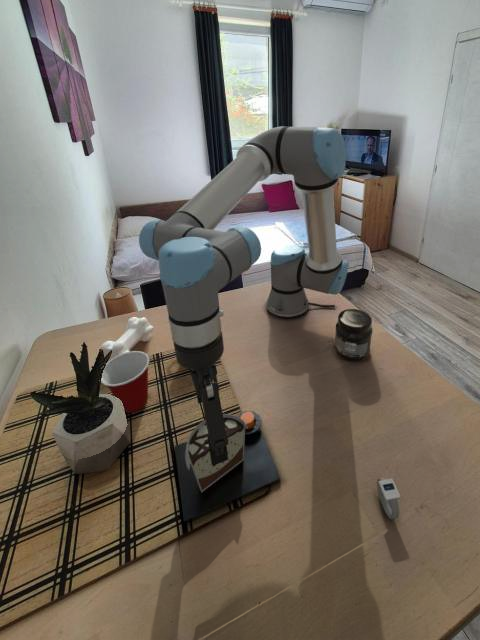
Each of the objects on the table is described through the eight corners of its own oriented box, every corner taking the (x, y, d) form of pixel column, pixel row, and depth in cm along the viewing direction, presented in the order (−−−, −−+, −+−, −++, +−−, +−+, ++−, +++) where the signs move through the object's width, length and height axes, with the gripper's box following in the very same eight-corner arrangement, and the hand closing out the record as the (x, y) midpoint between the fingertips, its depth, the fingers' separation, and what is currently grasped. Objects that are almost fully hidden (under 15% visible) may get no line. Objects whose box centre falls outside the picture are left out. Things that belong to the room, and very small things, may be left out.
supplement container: (358, 337, 104) (361, 305, 99) (376, 358, 94) (381, 324, 90) (328, 343, 100) (330, 311, 96) (344, 366, 91) (347, 332, 87)
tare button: (252, 415, 73) (251, 409, 73) (256, 426, 71) (256, 420, 70) (239, 420, 72) (238, 414, 72) (243, 431, 70) (242, 425, 69)
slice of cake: (233, 434, 71) (230, 401, 67) (249, 455, 66) (247, 420, 62) (179, 472, 63) (172, 437, 59) (193, 498, 59) (187, 462, 55)
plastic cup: (110, 394, 82) (99, 357, 77) (156, 381, 86) (148, 345, 81) (107, 429, 73) (95, 389, 68) (158, 413, 77) (150, 374, 72)
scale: (256, 416, 76) (256, 407, 75) (282, 481, 63) (282, 471, 62) (174, 446, 70) (172, 436, 68) (184, 525, 56) (182, 514, 55)
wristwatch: (401, 523, 56) (405, 506, 54) (386, 526, 56) (390, 509, 54) (385, 486, 62) (389, 469, 60) (372, 489, 62) (375, 472, 60)
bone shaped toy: (128, 372, 89) (122, 348, 86) (100, 368, 91) (93, 344, 88) (157, 338, 103) (153, 316, 100) (132, 335, 104) (127, 313, 101)
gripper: (243, 382, 42) (251, 484, 51) (206, 292, 63) (217, 375, 72) (183, 402, 39) (203, 505, 48) (166, 300, 60) (182, 385, 69)
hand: (211, 427), depth 60 cm, fingers open, 13 cm apart
